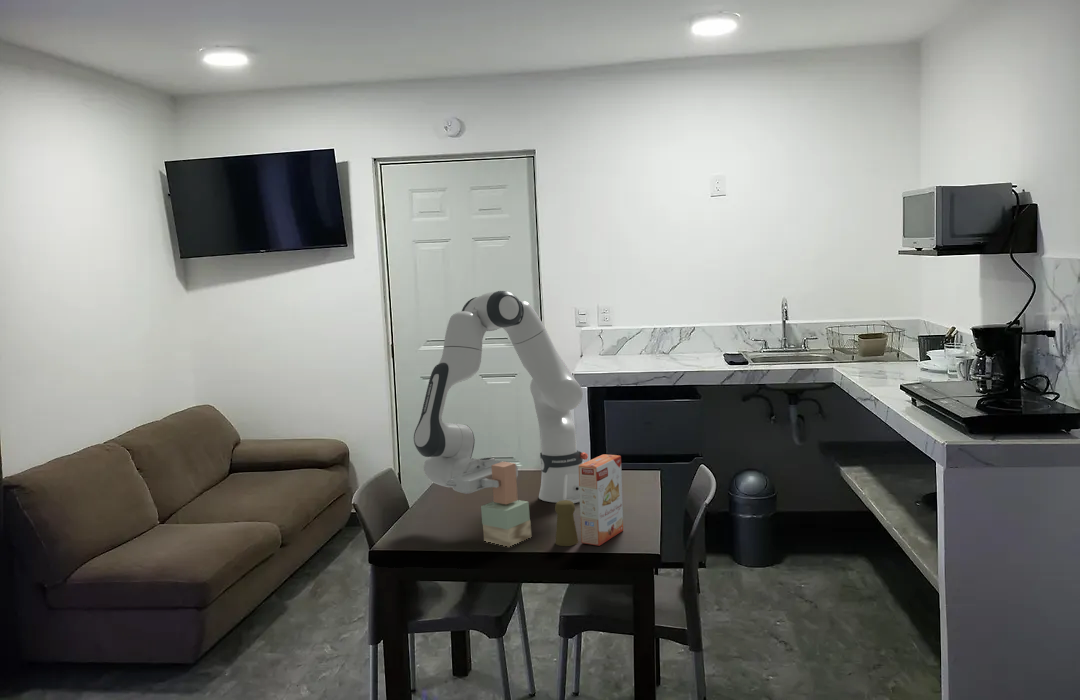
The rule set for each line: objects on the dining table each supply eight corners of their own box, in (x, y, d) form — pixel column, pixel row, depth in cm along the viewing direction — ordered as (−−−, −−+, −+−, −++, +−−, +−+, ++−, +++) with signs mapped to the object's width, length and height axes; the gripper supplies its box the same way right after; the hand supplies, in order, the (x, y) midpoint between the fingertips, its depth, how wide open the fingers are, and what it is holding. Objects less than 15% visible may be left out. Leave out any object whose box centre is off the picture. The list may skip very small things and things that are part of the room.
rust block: (505, 497, 227) (503, 461, 226) (517, 500, 224) (515, 463, 223) (493, 502, 224) (491, 465, 223) (506, 504, 221) (503, 467, 220)
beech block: (506, 532, 231) (505, 515, 231) (531, 538, 225) (530, 520, 225) (484, 542, 224) (482, 524, 224) (509, 548, 219) (507, 529, 218)
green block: (504, 515, 231) (503, 497, 230) (529, 520, 225) (528, 501, 225) (482, 524, 224) (480, 505, 223) (507, 529, 218) (506, 510, 218)
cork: (554, 539, 223) (551, 499, 222) (576, 537, 223) (574, 497, 222) (556, 547, 217) (554, 505, 216) (579, 545, 217) (577, 503, 216)
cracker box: (601, 547, 215) (597, 466, 213) (580, 544, 218) (576, 465, 216) (625, 530, 227) (621, 454, 224) (605, 528, 230) (601, 453, 228)
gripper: (441, 472, 224) (478, 478, 215) (494, 455, 239) (531, 461, 230) (443, 495, 224) (480, 502, 215) (496, 477, 240) (532, 483, 231)
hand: (506, 481), depth 223 cm, fingers closed on rust block, 4 cm apart
